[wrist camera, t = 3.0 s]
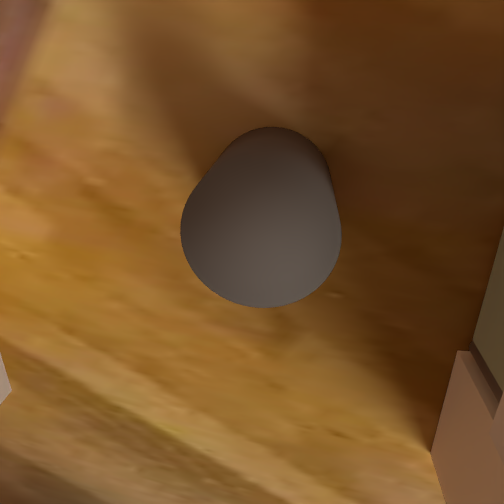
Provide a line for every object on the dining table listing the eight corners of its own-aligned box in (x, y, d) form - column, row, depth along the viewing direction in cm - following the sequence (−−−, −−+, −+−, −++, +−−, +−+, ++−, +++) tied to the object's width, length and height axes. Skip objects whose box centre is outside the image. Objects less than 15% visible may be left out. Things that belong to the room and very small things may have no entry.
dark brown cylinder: (214, 236, 28) (183, 301, 21) (213, 124, 25) (177, 153, 18) (324, 244, 27) (332, 313, 20) (337, 129, 24) (351, 162, 17)
